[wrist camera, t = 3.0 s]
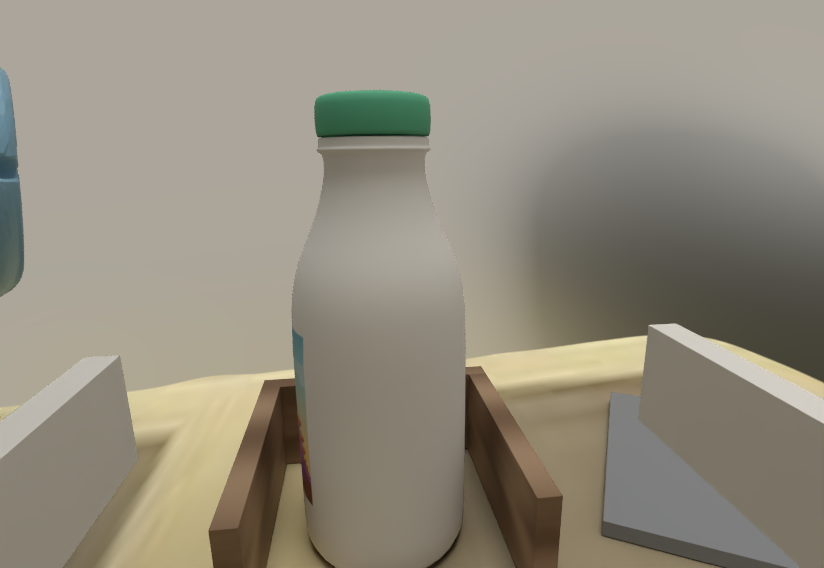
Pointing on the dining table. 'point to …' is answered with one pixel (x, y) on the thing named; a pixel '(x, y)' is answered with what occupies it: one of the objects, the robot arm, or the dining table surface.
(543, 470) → the wooden frame
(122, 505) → the dining table surface
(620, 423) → the grey tile
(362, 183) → the milk bottle
